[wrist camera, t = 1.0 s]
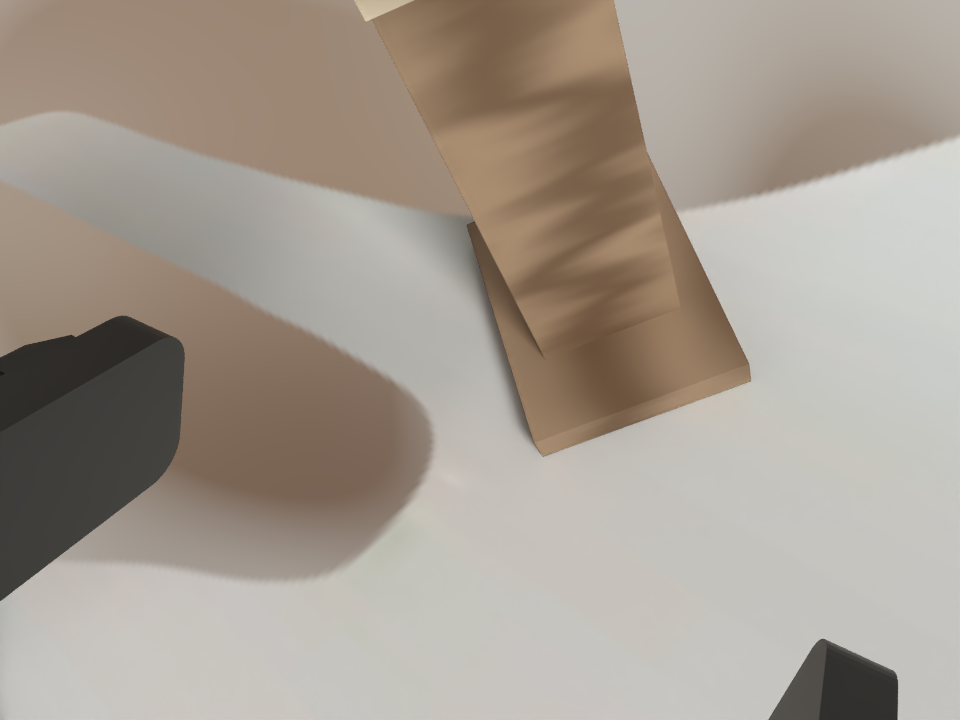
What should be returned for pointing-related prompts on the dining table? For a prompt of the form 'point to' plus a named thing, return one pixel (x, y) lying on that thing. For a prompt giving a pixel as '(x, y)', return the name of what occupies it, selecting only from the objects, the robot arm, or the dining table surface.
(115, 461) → the robot arm
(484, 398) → the dining table surface
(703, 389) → the stand
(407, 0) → the mallet
